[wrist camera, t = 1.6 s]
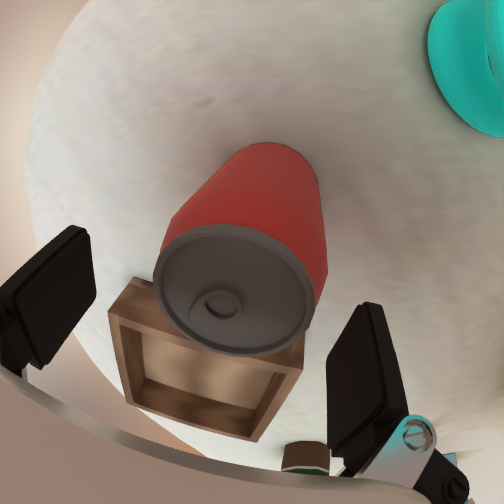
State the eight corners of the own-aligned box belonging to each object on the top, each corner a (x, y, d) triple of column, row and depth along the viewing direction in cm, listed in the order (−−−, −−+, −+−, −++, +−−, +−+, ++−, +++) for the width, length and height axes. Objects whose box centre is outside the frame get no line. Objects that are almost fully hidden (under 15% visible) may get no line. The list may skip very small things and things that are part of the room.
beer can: (202, 177, 20) (106, 273, 10) (280, 121, 18) (247, 163, 7) (259, 247, 22) (220, 382, 12) (336, 202, 20) (364, 330, 9)
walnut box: (305, 325, 25) (303, 369, 21) (262, 408, 34) (256, 442, 30) (134, 276, 26) (107, 311, 22) (141, 373, 34) (126, 403, 30)
